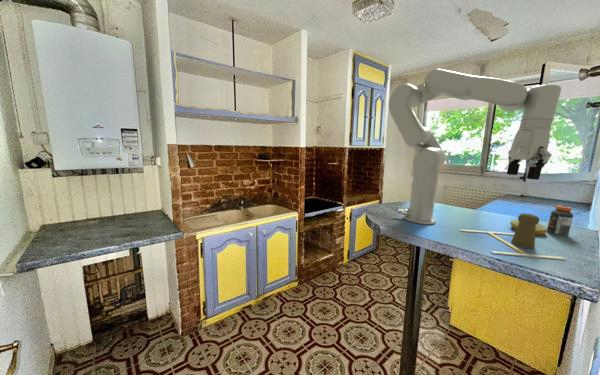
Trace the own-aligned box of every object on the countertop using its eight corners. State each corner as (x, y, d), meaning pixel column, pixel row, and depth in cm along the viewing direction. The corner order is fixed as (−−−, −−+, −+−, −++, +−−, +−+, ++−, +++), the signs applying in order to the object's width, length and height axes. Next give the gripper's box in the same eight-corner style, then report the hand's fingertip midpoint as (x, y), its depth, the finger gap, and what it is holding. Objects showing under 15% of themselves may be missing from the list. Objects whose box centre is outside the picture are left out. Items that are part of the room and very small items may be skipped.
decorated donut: (526, 236, 92) (528, 226, 91) (502, 226, 103) (504, 217, 102) (553, 236, 92) (555, 227, 92) (527, 226, 103) (528, 218, 102)
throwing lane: (493, 253, 76) (493, 252, 75) (459, 230, 95) (460, 229, 95) (565, 260, 73) (565, 258, 73) (515, 234, 93) (515, 233, 93)
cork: (525, 241, 86) (532, 212, 84) (539, 249, 80) (547, 217, 78) (506, 240, 87) (513, 211, 85) (519, 247, 81) (526, 216, 79)
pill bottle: (544, 229, 99) (551, 203, 97) (565, 233, 96) (572, 206, 94) (548, 234, 94) (555, 206, 92) (570, 238, 91) (578, 209, 89)
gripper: (505, 126, 88) (494, 172, 92) (543, 123, 72) (528, 180, 75) (527, 127, 87) (515, 173, 91) (572, 125, 70) (555, 182, 74)
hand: (521, 176), depth 83 cm, fingers open, 9 cm apart
